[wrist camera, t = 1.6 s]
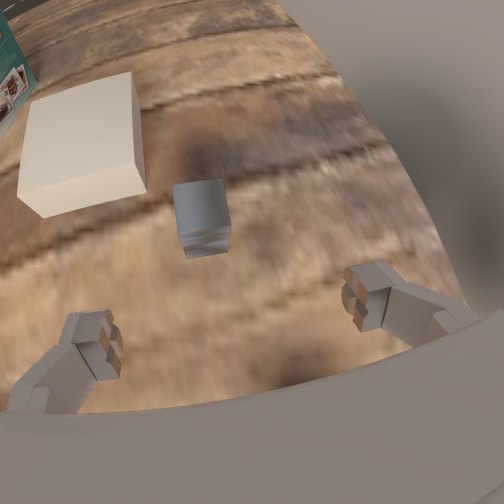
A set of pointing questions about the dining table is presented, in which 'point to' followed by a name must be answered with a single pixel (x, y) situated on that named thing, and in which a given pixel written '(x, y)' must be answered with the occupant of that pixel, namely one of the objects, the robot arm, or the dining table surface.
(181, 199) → the slate block
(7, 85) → the cake mix box
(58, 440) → the robot arm
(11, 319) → the dining table surface
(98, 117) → the painted box
